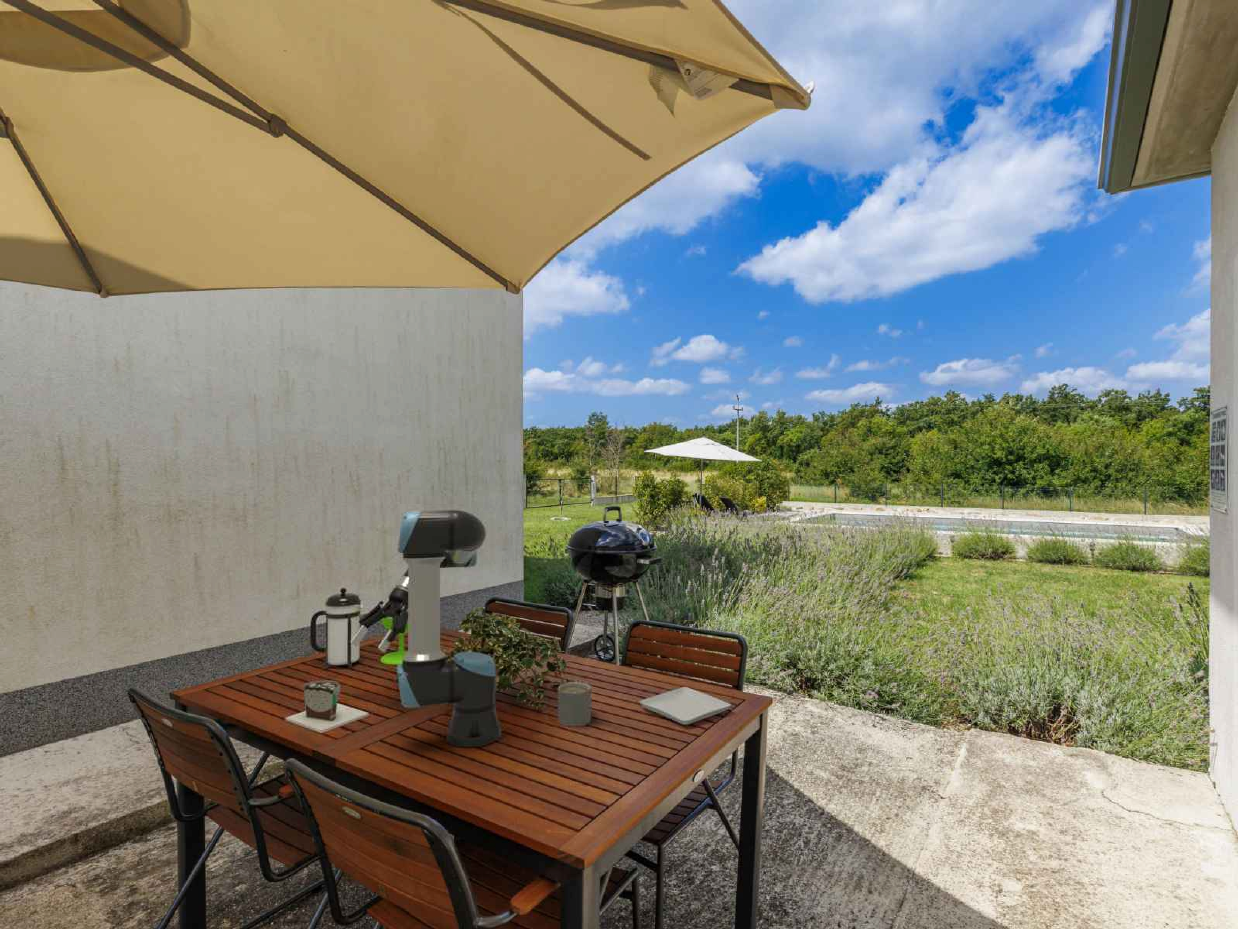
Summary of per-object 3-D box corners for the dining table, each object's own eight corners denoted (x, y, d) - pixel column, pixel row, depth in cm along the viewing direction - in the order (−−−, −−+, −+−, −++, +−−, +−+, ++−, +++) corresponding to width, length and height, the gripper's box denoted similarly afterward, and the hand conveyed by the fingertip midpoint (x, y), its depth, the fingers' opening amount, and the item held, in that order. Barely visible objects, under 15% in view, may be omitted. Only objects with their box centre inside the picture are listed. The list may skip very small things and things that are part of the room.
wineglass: (378, 655, 267) (378, 611, 267) (419, 651, 273) (419, 608, 274) (382, 666, 252) (382, 620, 252) (424, 661, 259) (425, 616, 259)
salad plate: (685, 731, 191) (685, 720, 191) (637, 710, 208) (637, 700, 208) (733, 714, 205) (733, 703, 205) (685, 696, 221) (685, 686, 221)
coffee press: (355, 656, 265) (355, 582, 265) (368, 665, 253) (369, 588, 253) (309, 664, 254) (310, 587, 254) (321, 674, 242) (321, 593, 242)
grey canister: (576, 729, 192) (576, 695, 192) (551, 721, 198) (551, 688, 198) (604, 715, 202) (604, 683, 203) (579, 708, 208) (579, 677, 208)
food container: (349, 714, 200) (349, 682, 201) (334, 722, 195) (335, 688, 195) (317, 710, 204) (317, 678, 204) (302, 717, 199) (302, 684, 199)
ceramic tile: (368, 715, 202) (368, 713, 202) (321, 733, 188) (321, 730, 188) (333, 704, 212) (333, 701, 212) (285, 720, 198) (285, 717, 198)
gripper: (436, 603, 218) (400, 659, 205) (386, 596, 231) (349, 648, 218) (423, 589, 214) (386, 645, 201) (373, 583, 227) (335, 636, 214)
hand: (366, 647), depth 210 cm, fingers open, 13 cm apart
